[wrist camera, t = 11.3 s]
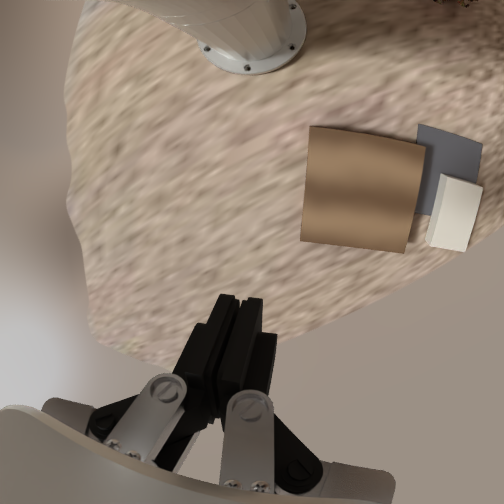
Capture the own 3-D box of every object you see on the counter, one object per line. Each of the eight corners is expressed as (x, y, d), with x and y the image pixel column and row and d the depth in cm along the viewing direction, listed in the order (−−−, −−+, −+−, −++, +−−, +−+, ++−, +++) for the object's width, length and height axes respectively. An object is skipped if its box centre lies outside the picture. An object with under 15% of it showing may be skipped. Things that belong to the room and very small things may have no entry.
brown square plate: (309, 126, 29) (309, 126, 26) (416, 143, 27) (425, 147, 24) (300, 230, 35) (299, 241, 32) (397, 242, 33) (403, 253, 30)
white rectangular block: (483, 187, 25) (475, 183, 26) (447, 176, 26) (440, 173, 27) (464, 252, 29) (458, 245, 31) (430, 246, 30) (424, 239, 31)
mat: (418, 123, 26) (419, 124, 25) (481, 143, 24) (482, 144, 24) (405, 210, 31) (405, 211, 30) (465, 222, 29) (466, 222, 29)
